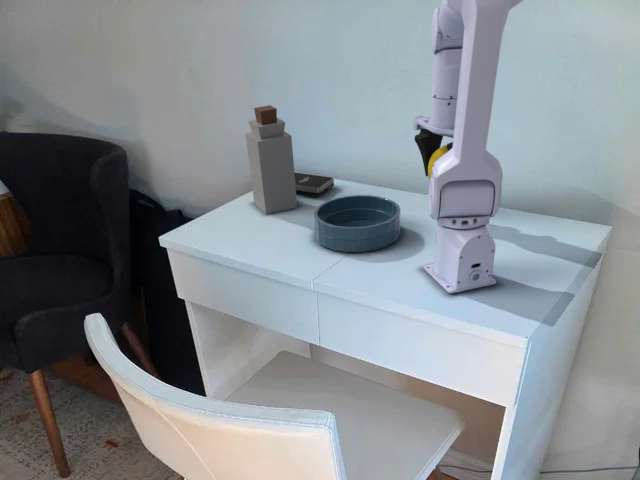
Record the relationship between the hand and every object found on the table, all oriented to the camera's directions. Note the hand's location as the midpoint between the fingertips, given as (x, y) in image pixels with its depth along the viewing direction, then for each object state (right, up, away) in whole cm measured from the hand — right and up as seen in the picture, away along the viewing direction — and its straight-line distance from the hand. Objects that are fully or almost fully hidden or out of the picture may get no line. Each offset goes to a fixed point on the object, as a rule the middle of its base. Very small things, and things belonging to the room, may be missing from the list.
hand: (443, 178), depth 110 cm
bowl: (-15, -10, +1) cm, 18 cm away
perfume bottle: (-31, 0, +14) cm, 34 cm away
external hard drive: (-25, +6, +20) cm, 33 cm away
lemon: (0, -2, +2) cm, 2 cm away
